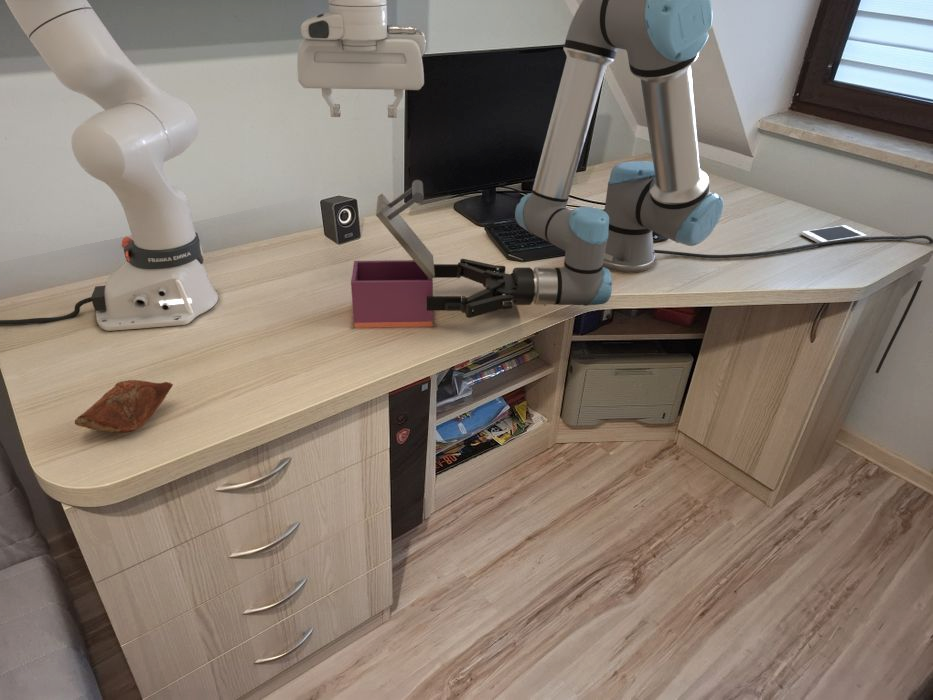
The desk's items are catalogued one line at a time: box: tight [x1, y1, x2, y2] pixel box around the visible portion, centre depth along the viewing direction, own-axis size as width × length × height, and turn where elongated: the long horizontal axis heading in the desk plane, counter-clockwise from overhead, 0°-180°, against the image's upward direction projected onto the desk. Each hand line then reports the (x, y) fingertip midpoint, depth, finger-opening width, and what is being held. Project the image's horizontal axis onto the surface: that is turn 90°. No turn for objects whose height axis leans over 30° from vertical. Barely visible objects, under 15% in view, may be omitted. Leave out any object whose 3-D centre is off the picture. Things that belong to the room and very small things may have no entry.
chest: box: [350, 259, 434, 329], centre depth 126 cm, size 15×9×10 cm, turn 95°
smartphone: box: [801, 224, 867, 243], centre depth 170 cm, size 7×16×1 cm, turn 111°
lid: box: [375, 179, 435, 280], centre depth 119 cm, size 16×9×9 cm
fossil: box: [74, 379, 174, 434], centre depth 97 cm, size 13×8×10 cm
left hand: (364, 116), depth 107 cm, fingers open, 8 cm apart
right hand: (426, 286), depth 126 cm, fingers open, 13 cm apart
